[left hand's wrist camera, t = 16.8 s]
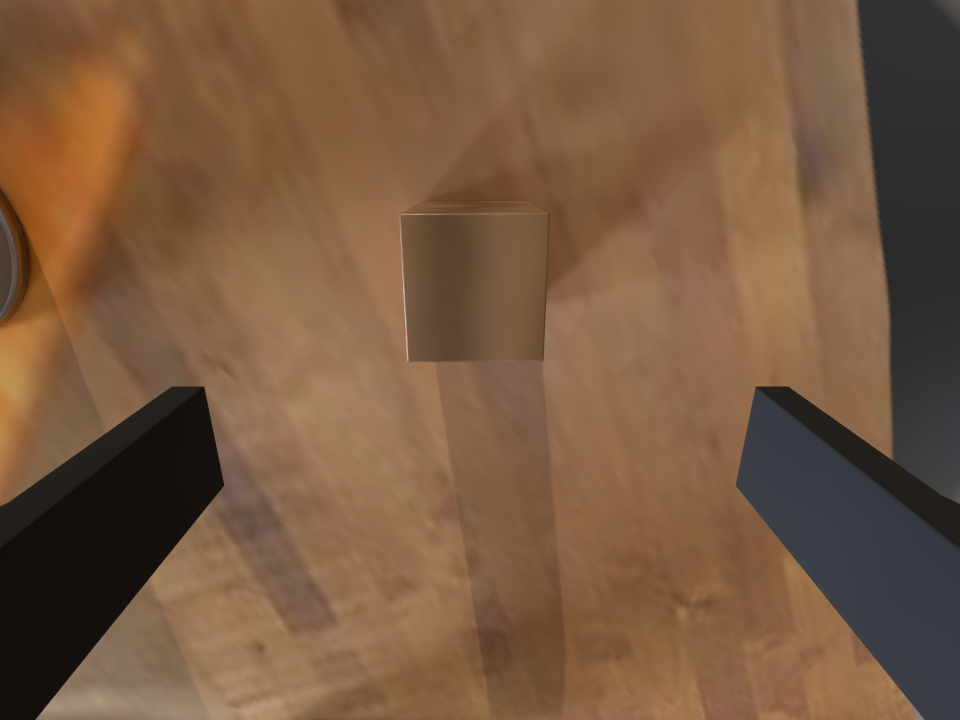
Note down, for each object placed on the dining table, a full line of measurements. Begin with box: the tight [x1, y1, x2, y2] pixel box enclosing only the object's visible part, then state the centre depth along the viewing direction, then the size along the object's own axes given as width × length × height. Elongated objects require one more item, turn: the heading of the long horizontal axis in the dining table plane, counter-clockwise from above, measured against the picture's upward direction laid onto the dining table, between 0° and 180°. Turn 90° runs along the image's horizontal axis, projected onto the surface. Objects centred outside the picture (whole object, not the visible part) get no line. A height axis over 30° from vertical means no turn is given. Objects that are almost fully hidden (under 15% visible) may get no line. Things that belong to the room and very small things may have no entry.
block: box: [399, 201, 550, 362], centre depth 31 cm, size 7×8×11 cm
